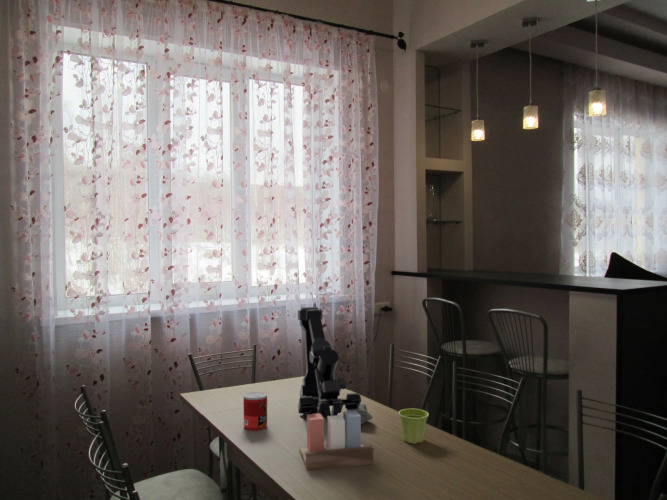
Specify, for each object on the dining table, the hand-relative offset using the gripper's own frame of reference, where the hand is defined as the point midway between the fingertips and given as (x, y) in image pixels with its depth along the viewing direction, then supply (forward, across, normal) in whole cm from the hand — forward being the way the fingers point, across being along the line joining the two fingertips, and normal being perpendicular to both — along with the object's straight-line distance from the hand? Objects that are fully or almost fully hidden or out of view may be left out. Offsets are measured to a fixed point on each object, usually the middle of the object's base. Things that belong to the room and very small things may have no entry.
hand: (333, 429), depth 157 cm
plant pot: (+1, +27, +10) cm, 29 cm away
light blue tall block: (+4, +6, +4) cm, 8 cm away
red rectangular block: (+4, -6, +4) cm, 8 cm away
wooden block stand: (+7, 0, +4) cm, 8 cm away
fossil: (-12, +14, +24) cm, 30 cm away
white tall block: (+6, 0, +2) cm, 6 cm away
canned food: (-15, -21, +26) cm, 37 cm away
